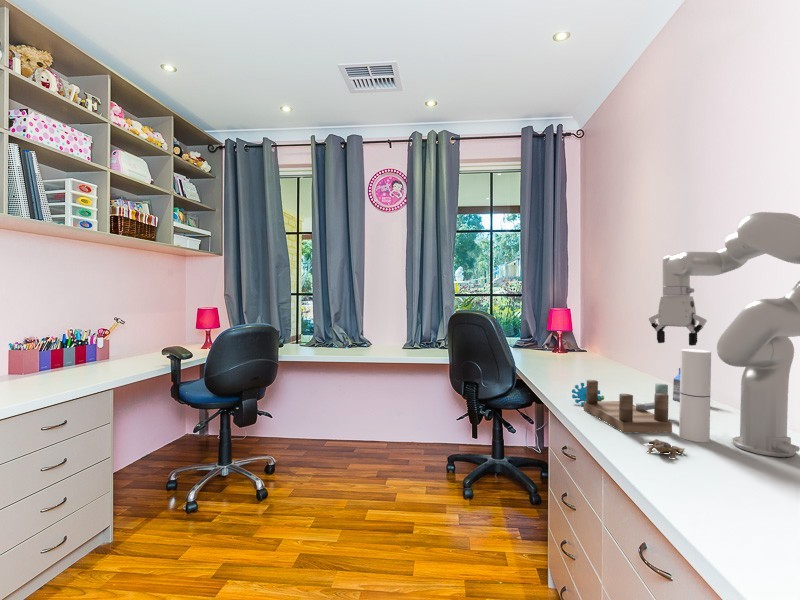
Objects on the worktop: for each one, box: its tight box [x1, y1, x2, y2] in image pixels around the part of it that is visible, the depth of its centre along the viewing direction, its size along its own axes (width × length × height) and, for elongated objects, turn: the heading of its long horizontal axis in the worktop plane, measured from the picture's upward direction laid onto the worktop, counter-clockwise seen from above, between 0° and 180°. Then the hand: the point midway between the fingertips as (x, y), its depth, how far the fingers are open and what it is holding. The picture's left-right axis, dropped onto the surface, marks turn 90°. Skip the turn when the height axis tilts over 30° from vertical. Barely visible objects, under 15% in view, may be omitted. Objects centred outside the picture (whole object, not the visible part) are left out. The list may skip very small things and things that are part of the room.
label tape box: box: [672, 367, 680, 402], centre depth 160 cm, size 9×4×12 cm, turn 28°
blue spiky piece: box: [571, 382, 605, 407], centre depth 158 cm, size 11×6×10 cm
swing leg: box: [635, 383, 669, 411], centre depth 140 cm, size 13×4×8 cm, turn 113°
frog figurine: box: [646, 438, 686, 459], centre depth 110 cm, size 12×12×4 cm
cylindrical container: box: [678, 348, 712, 443], centre depth 121 cm, size 7×7×25 cm
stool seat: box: [583, 379, 673, 433], centre depth 137 cm, size 24×15×11 cm, turn 3°
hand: (676, 344), depth 140 cm, fingers open, 9 cm apart
